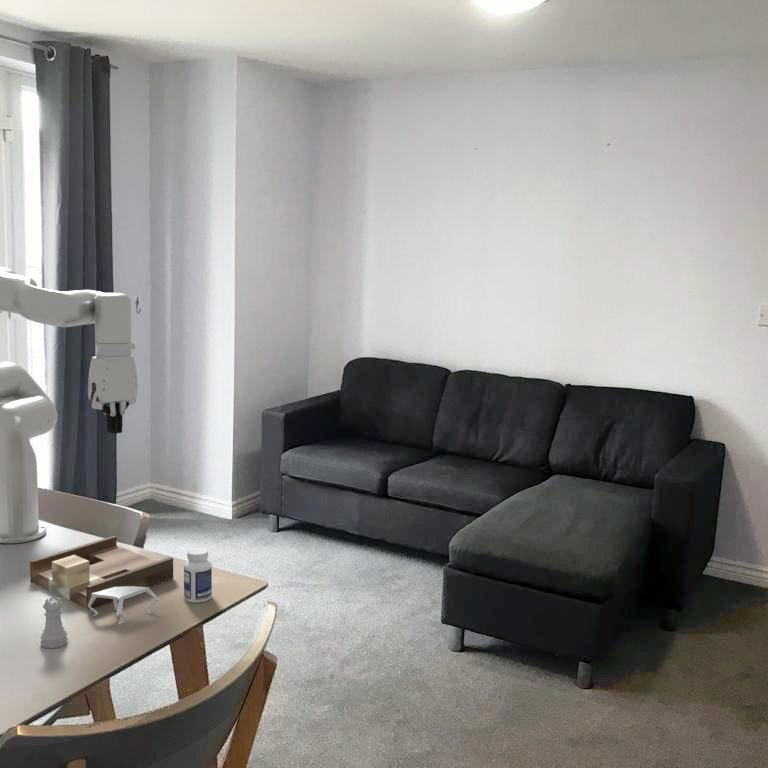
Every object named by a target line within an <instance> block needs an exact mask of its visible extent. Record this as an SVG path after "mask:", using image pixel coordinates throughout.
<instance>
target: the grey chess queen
mask: <svg viewBox="0 0 768 768" xmlns="http://www.w3.org/2000/svg"><path fill="white" fill-rule="evenodd" d="M61 600H62V599H61V598H59V597H57V596H55V597H54V599H53V597H49V598H46V599H45V601H44V604H43V605H42V608H43V609H44V610H45V613H44V616H45V624H44V625H45V626H44V629H43V631H42V633H41V635H40V645H41V647H43V648H45V649H49V648H53V649H58V648H57V647H59V648H61V647H63V646H65V644H66V643H67V642H68V640H69V639H68V637H67V636H68V633H67V631H66V630H65V628H64V626H63V621H62V616H61V615H62V614H63V612H62V610H61V609H62V608H63V606H64V603H63V602H62V601H61Z"/></svg>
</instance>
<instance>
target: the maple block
mask: <svg viewBox="0 0 768 768" xmlns="http://www.w3.org/2000/svg"><path fill="white" fill-rule="evenodd" d="M89 580H90V572H89V561H88V560H86V559H83V558H81V557H78V556H76V555H72V556H69V557H65V558H62V559H59V560H56V561H53V562H52V581H53V582H56V583H58V584H60V585H62V586H65V587H67V588H68V587H71V586H74V585H77V584H80V583H83V582H86V581H89Z"/></svg>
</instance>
